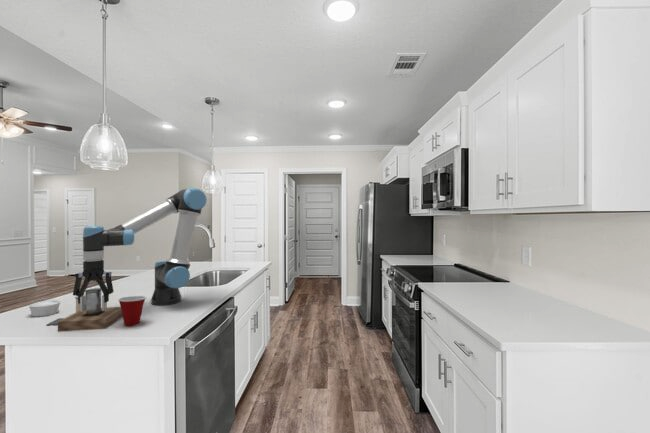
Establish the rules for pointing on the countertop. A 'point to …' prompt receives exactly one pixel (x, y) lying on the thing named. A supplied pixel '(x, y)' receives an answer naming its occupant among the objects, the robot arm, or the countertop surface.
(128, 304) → the plastic cup
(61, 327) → the frame
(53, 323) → the pad
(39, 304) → the ramekin
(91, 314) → the grey metal cylinder
